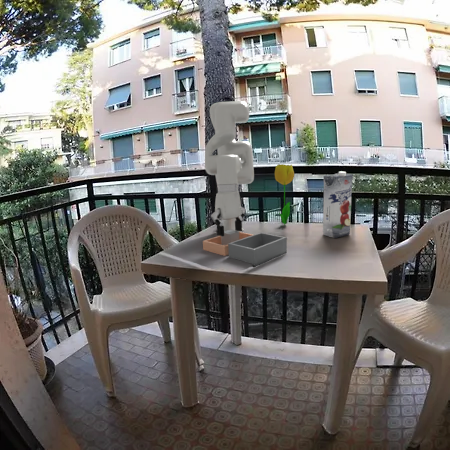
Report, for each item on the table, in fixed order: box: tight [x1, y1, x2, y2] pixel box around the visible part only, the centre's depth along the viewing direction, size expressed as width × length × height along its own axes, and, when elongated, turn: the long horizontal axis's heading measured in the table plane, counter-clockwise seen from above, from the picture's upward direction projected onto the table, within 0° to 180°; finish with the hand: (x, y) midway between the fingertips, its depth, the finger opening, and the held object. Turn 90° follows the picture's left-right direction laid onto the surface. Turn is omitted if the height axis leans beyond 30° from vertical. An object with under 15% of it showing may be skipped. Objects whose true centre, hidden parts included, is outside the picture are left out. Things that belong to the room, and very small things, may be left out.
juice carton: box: [322, 170, 354, 239], centre depth 133 cm, size 9×10×27 cm
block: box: [221, 230, 239, 246], centre depth 124 cm, size 5×5×6 cm
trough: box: [202, 231, 254, 257], centre depth 125 cm, size 12×18×4 cm, turn 134°
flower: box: [274, 163, 295, 225], centre depth 154 cm, size 9×8×30 cm
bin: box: [228, 232, 288, 268], centre depth 115 cm, size 12×18×6 cm, turn 134°
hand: (230, 233), depth 123 cm, fingers open, 9 cm apart
